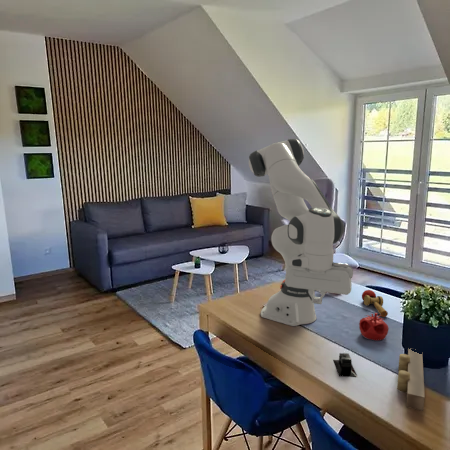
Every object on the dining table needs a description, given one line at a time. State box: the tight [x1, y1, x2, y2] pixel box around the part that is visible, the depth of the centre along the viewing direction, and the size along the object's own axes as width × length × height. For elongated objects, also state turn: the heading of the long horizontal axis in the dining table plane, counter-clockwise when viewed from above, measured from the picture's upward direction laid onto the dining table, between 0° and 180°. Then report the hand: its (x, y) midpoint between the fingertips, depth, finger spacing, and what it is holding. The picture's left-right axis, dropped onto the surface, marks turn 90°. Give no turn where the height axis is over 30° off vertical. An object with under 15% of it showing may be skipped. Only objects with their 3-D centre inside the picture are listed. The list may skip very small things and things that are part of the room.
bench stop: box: [396, 347, 426, 412], centre depth 114 cm, size 6×26×5 cm, turn 155°
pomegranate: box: [358, 312, 390, 341], centre depth 141 cm, size 10×10×9 cm
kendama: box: [361, 289, 389, 318], centre depth 166 cm, size 8×6×18 cm
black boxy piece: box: [332, 352, 359, 378], centre depth 121 cm, size 12×7×5 cm, turn 176°
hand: (316, 303), depth 122 cm, fingers closed
